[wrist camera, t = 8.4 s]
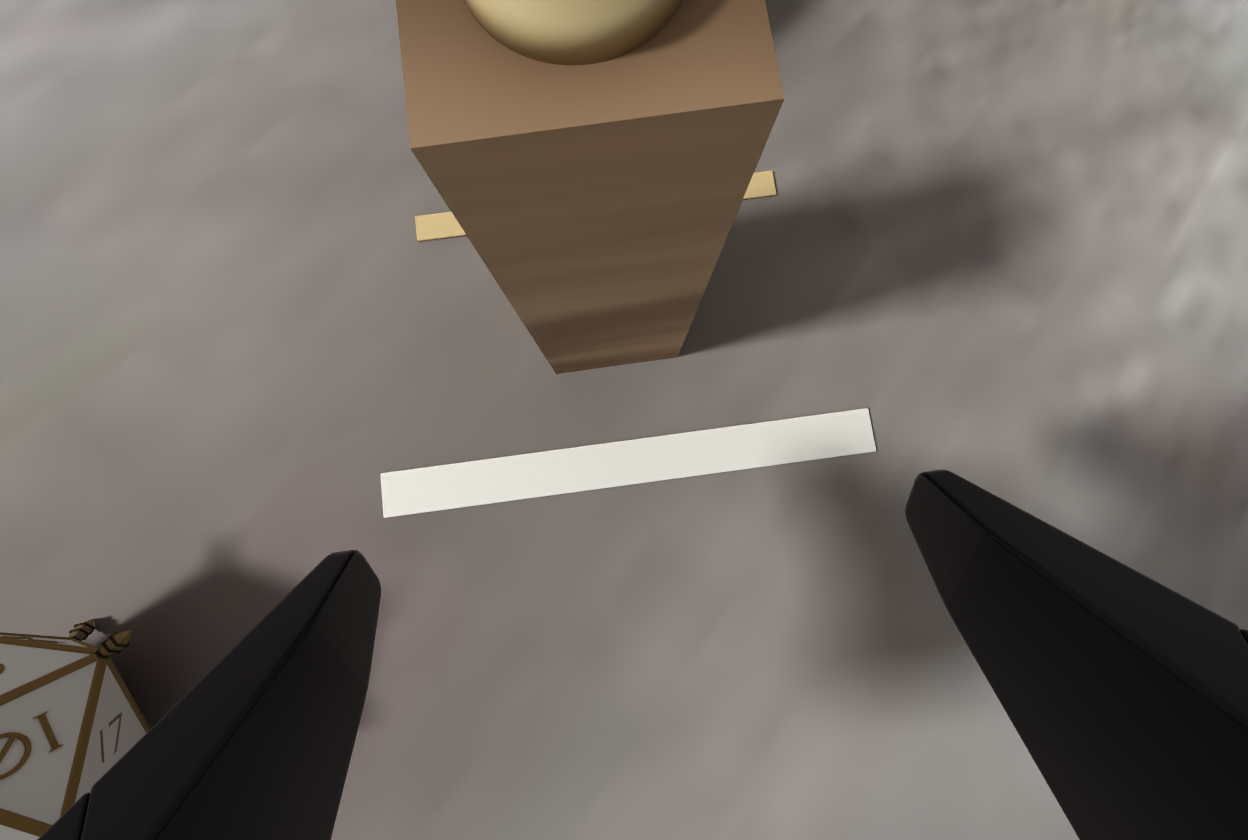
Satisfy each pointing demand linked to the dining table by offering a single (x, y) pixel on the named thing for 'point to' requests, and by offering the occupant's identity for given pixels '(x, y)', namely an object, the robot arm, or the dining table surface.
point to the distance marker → (449, 227)
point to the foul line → (626, 462)
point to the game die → (59, 724)
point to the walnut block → (592, 154)
